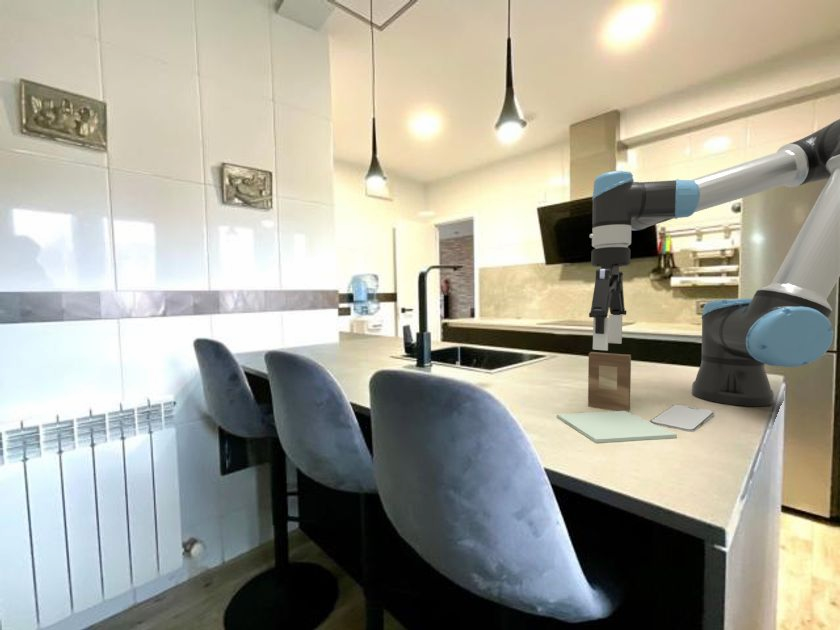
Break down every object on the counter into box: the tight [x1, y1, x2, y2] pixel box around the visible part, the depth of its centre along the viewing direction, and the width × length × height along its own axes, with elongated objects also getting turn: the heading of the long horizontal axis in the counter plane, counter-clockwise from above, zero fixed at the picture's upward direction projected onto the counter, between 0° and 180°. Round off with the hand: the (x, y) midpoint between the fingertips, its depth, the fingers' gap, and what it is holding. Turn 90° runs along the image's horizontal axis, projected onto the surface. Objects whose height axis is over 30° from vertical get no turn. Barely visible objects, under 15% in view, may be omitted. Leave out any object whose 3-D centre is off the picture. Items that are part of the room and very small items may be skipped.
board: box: [587, 351, 632, 413], centre depth 85 cm, size 2×8×12 cm, turn 52°
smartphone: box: [650, 404, 715, 433], centre depth 78 cm, size 7×1×15 cm
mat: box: [556, 410, 678, 444], centre depth 74 cm, size 15×14×1 cm
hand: (608, 346), depth 85 cm, fingers open, 13 cm apart
